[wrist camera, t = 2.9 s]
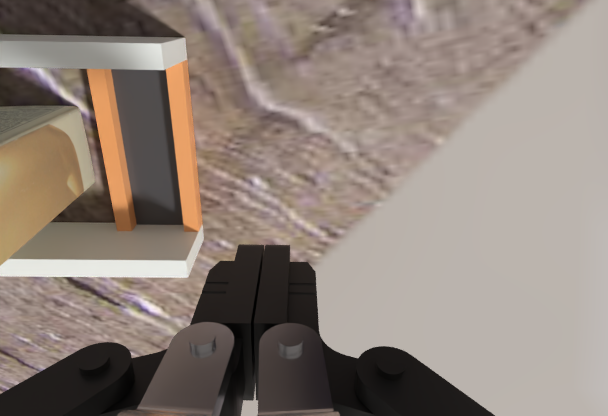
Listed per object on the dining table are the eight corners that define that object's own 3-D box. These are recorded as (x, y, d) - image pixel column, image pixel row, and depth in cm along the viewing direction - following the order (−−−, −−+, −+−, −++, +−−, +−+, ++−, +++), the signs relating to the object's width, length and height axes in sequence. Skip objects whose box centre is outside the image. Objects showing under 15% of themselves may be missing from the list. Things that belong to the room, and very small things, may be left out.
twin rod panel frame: (-81, 32, 20) (-164, 37, 17) (185, 37, 20) (161, 43, 17) (-13, 236, 25) (-65, 275, 21) (203, 238, 25) (187, 277, 21)
